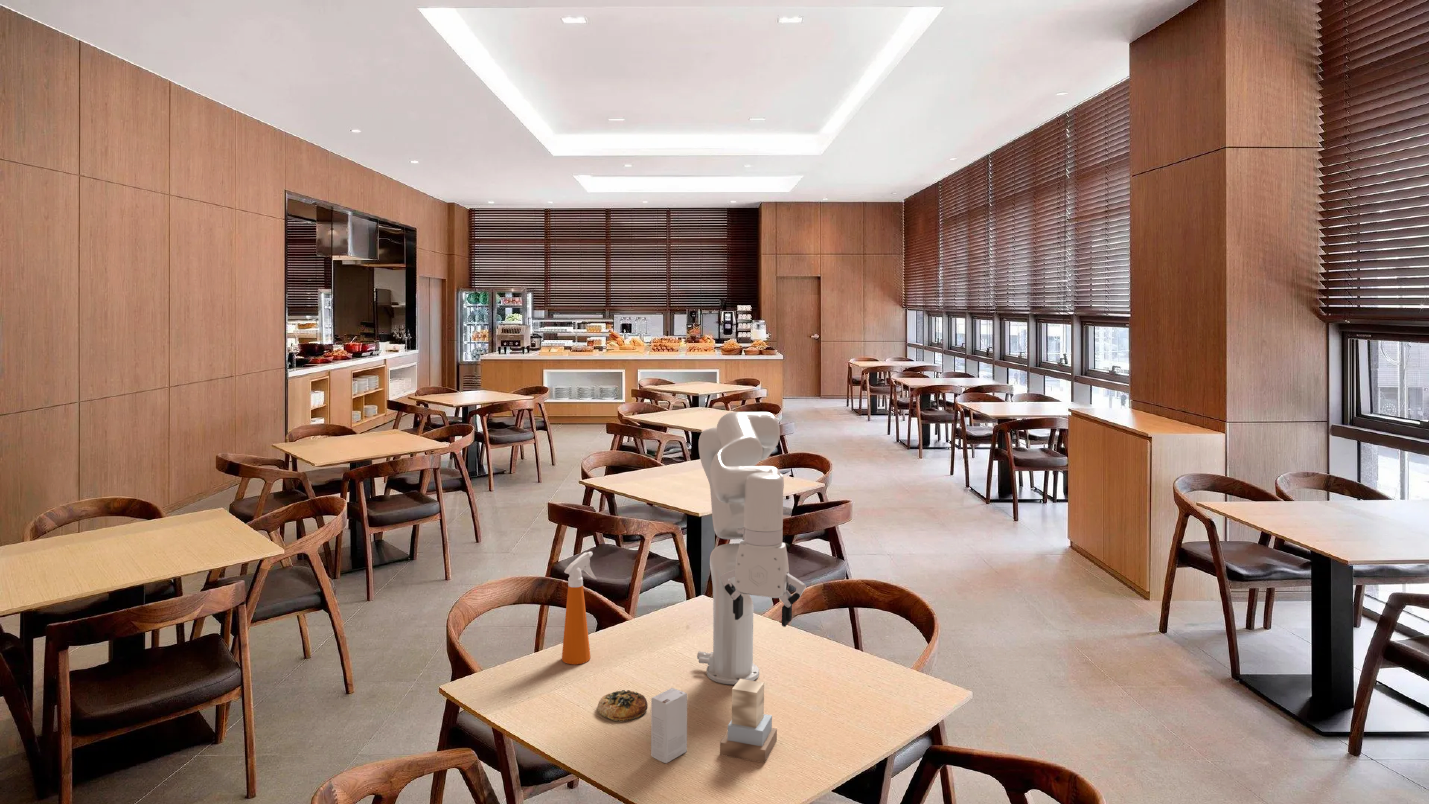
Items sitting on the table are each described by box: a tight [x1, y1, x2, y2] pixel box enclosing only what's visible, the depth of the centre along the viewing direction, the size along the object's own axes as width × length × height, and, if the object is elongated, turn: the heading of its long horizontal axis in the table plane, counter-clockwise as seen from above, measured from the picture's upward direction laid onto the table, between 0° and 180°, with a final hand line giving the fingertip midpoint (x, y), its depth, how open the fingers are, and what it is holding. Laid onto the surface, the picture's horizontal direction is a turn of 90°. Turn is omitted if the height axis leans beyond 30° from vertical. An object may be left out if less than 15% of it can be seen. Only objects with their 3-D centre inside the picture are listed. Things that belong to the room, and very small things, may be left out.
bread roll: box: [596, 689, 648, 722], centre depth 176 cm, size 11×11×5 cm
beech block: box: [731, 679, 765, 728], centre depth 160 cm, size 5×5×7 cm
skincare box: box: [650, 687, 688, 764], centre depth 157 cm, size 6×4×12 cm
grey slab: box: [727, 713, 773, 746], centre depth 160 cm, size 7×7×3 cm
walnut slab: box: [719, 727, 778, 764], centre depth 160 cm, size 9×9×3 cm
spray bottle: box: [561, 551, 598, 666], centre depth 204 cm, size 7×11×26 cm, turn 144°
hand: (761, 620), depth 161 cm, fingers open, 9 cm apart
